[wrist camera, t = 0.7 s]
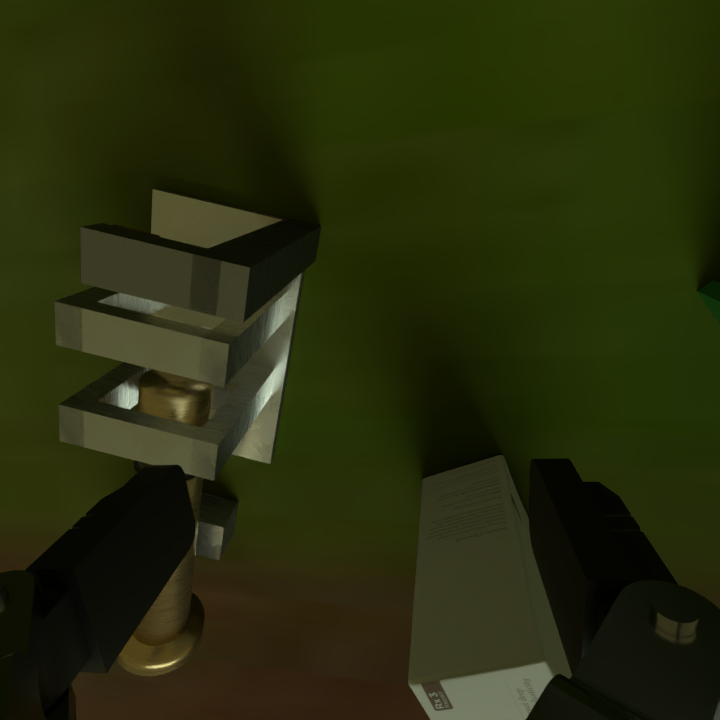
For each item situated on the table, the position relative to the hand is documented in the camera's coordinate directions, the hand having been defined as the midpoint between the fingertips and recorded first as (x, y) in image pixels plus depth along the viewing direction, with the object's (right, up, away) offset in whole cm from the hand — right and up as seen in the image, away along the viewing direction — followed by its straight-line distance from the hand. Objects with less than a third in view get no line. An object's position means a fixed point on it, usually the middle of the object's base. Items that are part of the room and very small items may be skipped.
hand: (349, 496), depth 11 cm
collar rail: (-9, +1, +21) cm, 23 cm away
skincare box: (+8, -7, +22) cm, 25 cm away
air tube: (-11, -6, +21) cm, 24 cm away
